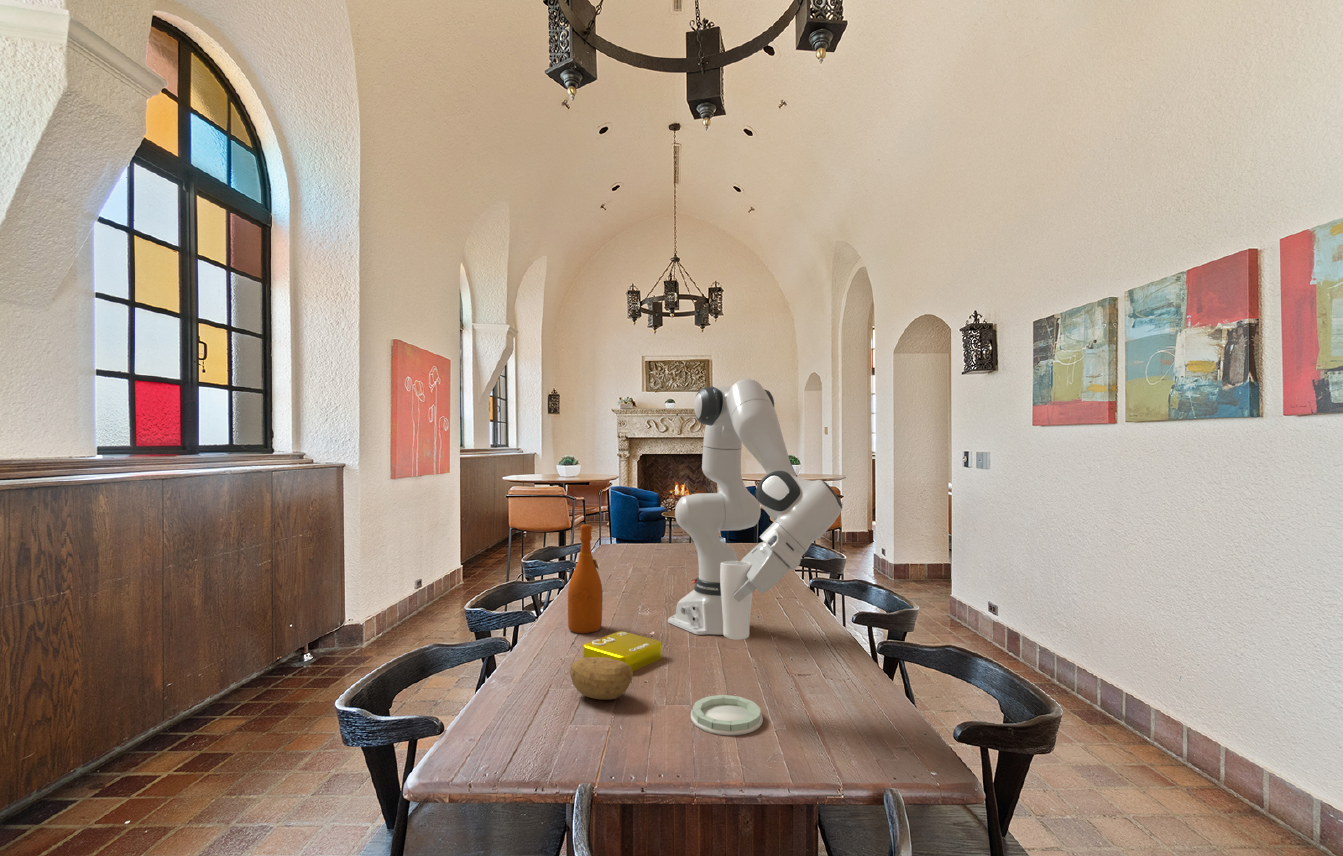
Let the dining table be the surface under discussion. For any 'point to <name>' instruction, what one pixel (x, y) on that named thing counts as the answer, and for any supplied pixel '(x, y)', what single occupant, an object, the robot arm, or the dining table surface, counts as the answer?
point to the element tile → (625, 649)
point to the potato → (601, 677)
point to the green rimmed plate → (726, 715)
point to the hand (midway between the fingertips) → (733, 594)
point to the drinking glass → (732, 610)
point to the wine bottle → (585, 590)
